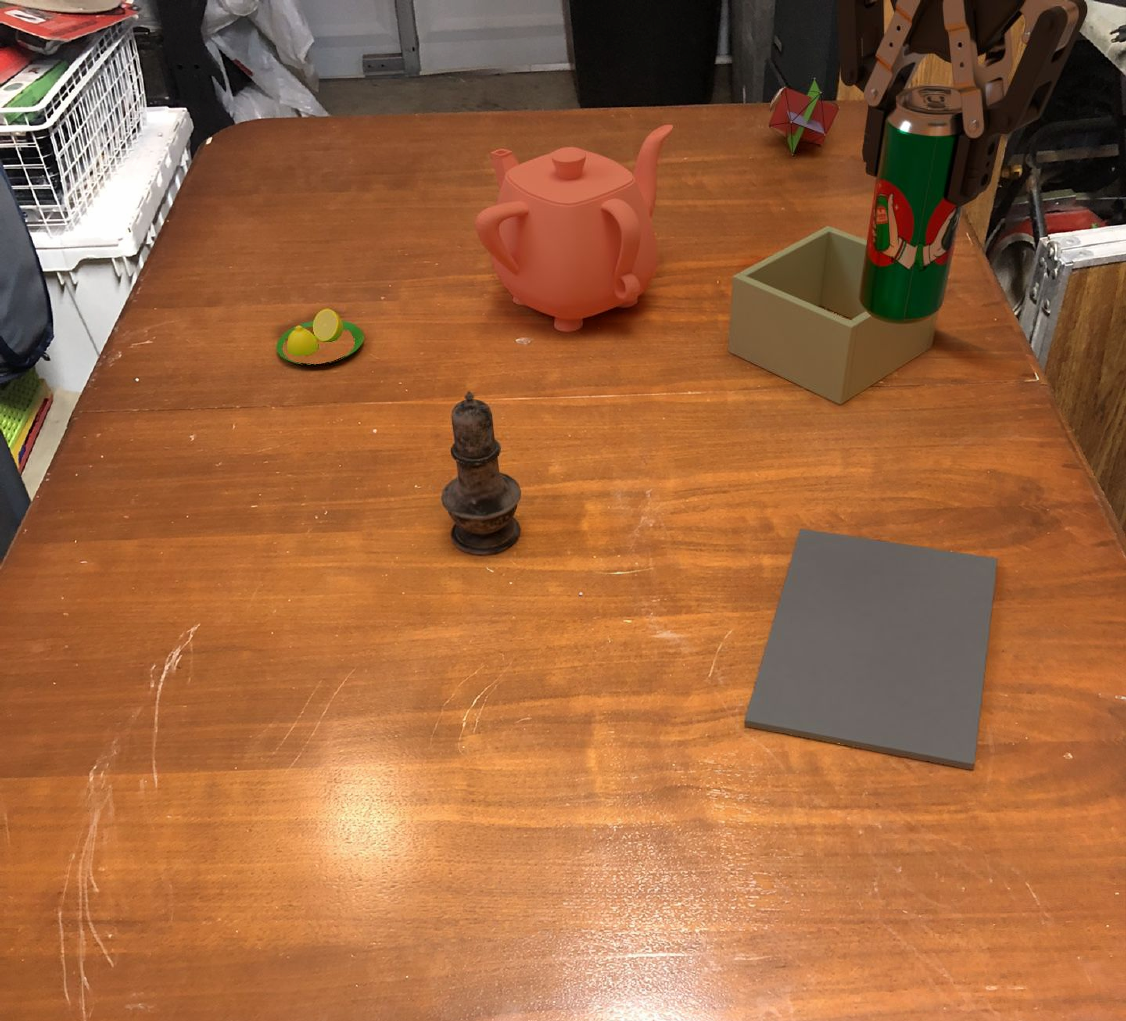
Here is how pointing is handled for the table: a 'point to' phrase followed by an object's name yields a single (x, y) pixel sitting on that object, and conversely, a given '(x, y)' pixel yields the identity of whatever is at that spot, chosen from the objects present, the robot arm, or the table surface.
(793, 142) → the geometric puzzle
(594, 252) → the teapot
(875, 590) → the mat
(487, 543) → the salt shaker
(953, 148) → the soda can
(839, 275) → the bin
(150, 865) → the table surface
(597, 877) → the table surface
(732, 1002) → the table surface
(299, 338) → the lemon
